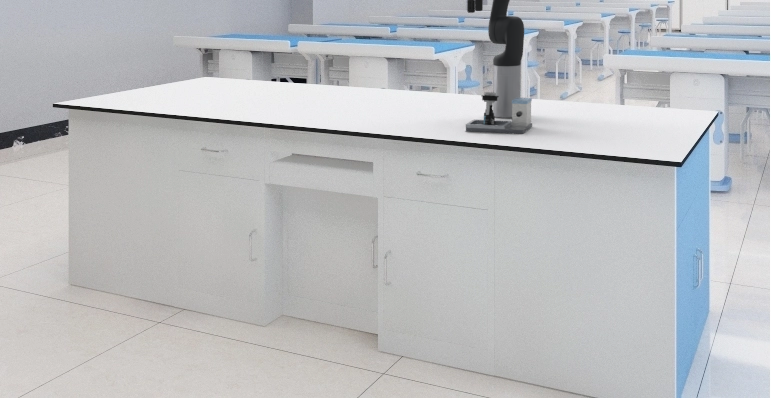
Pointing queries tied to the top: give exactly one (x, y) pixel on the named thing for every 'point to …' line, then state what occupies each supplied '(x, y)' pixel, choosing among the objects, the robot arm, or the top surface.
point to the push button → (489, 107)
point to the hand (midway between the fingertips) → (475, 11)
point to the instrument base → (516, 126)
